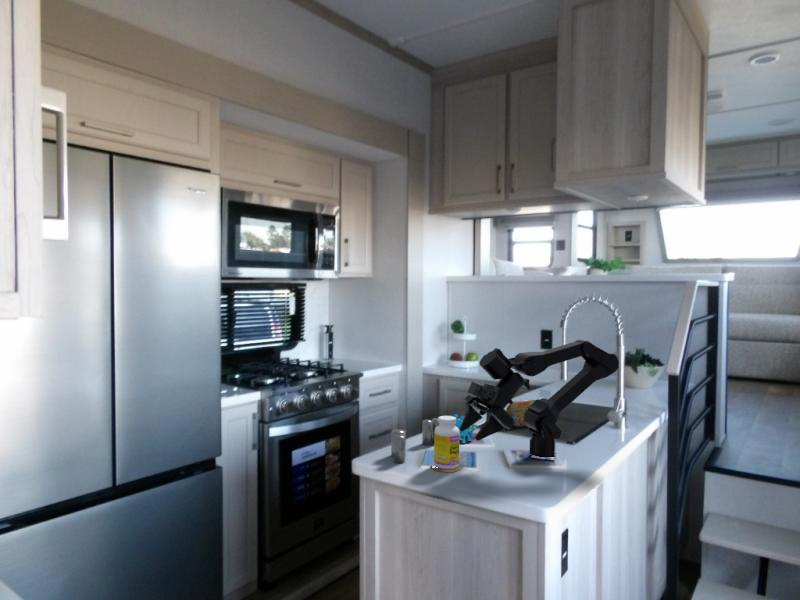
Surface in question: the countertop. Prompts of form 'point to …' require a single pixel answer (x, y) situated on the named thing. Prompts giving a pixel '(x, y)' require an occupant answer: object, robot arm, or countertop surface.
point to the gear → (466, 432)
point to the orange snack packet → (519, 411)
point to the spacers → (400, 439)
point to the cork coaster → (447, 469)
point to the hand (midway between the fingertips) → (468, 434)
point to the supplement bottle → (446, 443)
